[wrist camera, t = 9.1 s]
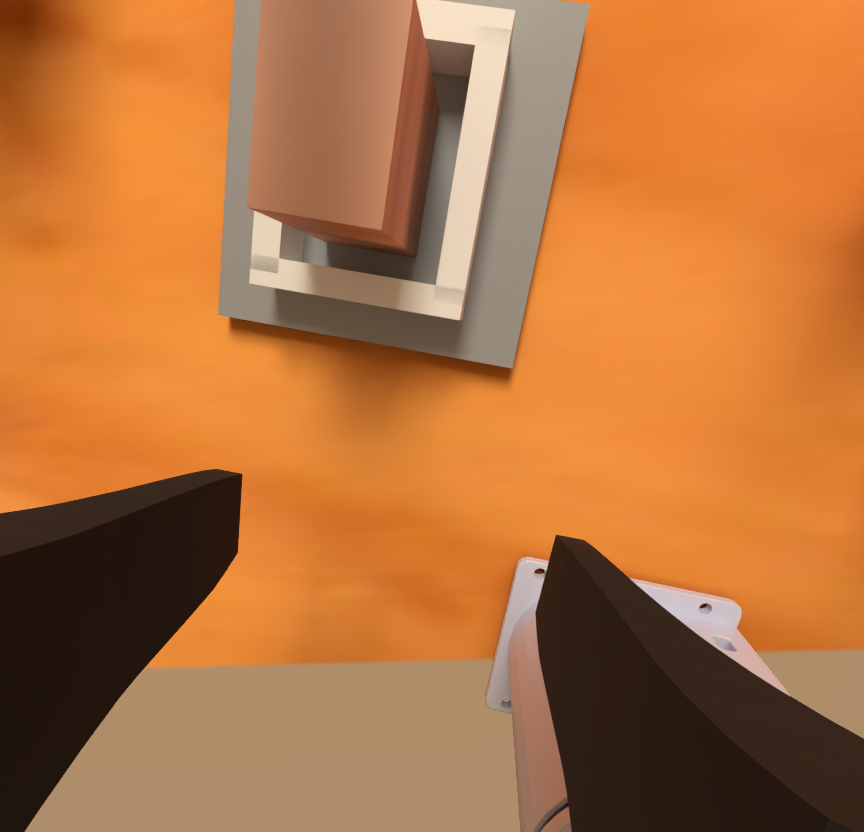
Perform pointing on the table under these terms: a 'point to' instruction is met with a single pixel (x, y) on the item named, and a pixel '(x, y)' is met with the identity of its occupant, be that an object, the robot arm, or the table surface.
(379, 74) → the block
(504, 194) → the grey framed tray
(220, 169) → the table surface
